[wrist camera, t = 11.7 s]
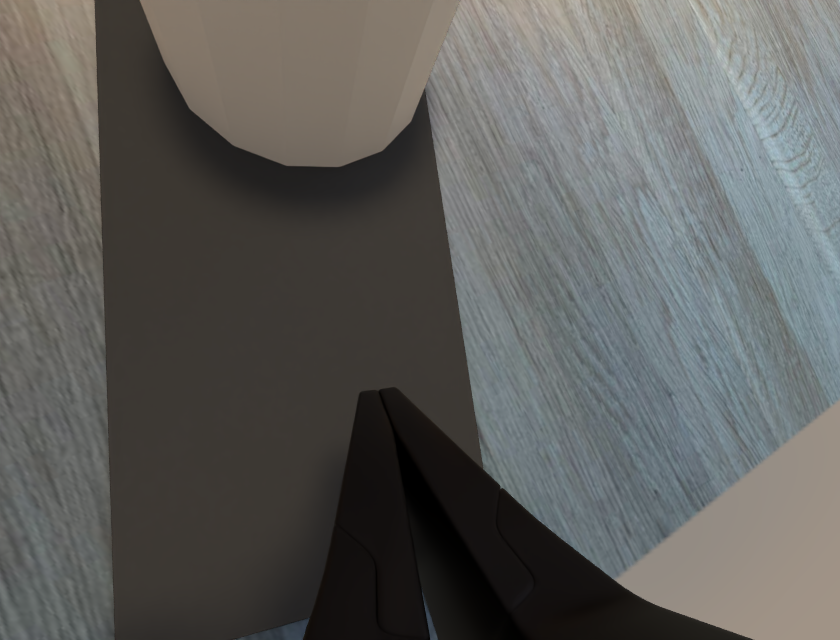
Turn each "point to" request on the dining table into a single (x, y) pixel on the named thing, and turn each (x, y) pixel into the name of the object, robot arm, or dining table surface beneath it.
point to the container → (302, 70)
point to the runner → (251, 344)
